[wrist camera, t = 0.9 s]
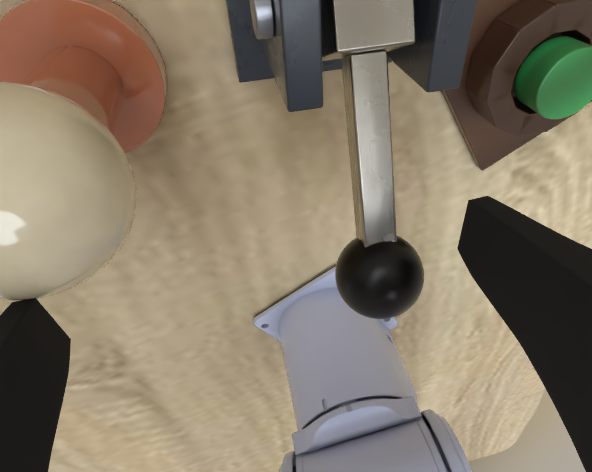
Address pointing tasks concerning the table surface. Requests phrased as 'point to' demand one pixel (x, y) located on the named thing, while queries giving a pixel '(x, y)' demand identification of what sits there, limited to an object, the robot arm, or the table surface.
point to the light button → (556, 77)
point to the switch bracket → (308, 58)
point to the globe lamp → (70, 138)
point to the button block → (508, 71)
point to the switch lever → (372, 154)
